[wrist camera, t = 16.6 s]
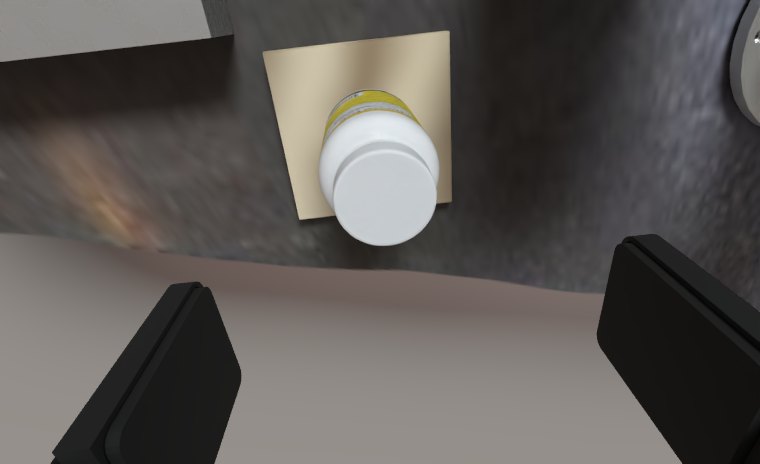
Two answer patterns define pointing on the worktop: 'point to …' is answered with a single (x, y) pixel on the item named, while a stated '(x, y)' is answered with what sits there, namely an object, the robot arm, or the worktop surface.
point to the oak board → (350, 74)
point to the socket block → (104, 25)
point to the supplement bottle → (378, 168)
